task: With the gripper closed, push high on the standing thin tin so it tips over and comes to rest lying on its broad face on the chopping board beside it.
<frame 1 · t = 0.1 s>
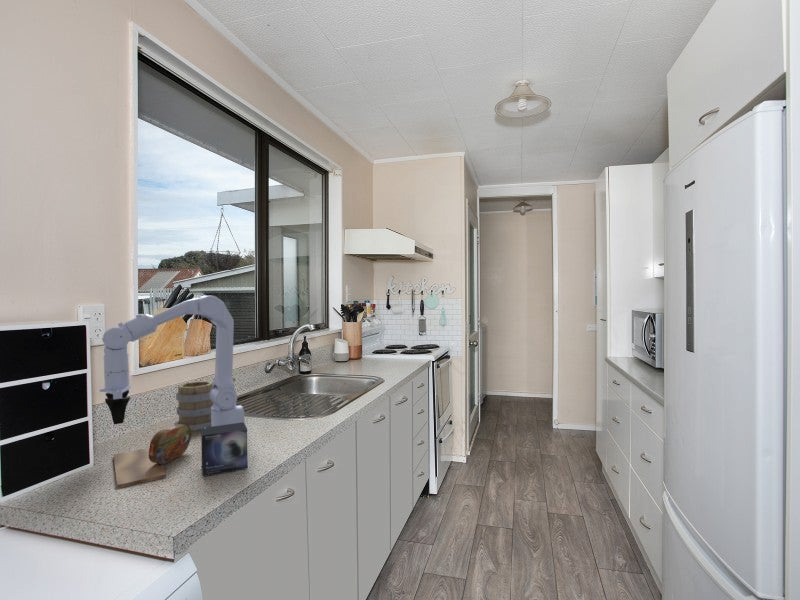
hand: (118, 420, 123), 10 cm above the worktop, tool pointing down, fingers open, 7 cm apart
chopping board: (138, 466, 115), on the worktop
small box: (224, 469, 113), on the worktop
tin: (167, 459, 119), point 1 cm above the worktop, touching chopping board
tankard: (208, 423, 154), on the worktop
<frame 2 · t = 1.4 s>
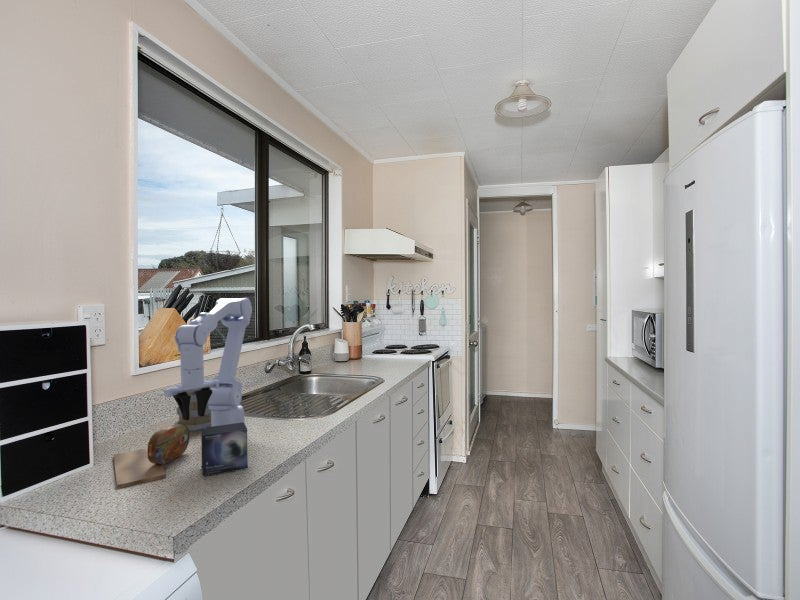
hand: (193, 417, 123), 10 cm above the worktop, tool pointing down, fingers open, 4 cm apart
nothing on the worktop moved.
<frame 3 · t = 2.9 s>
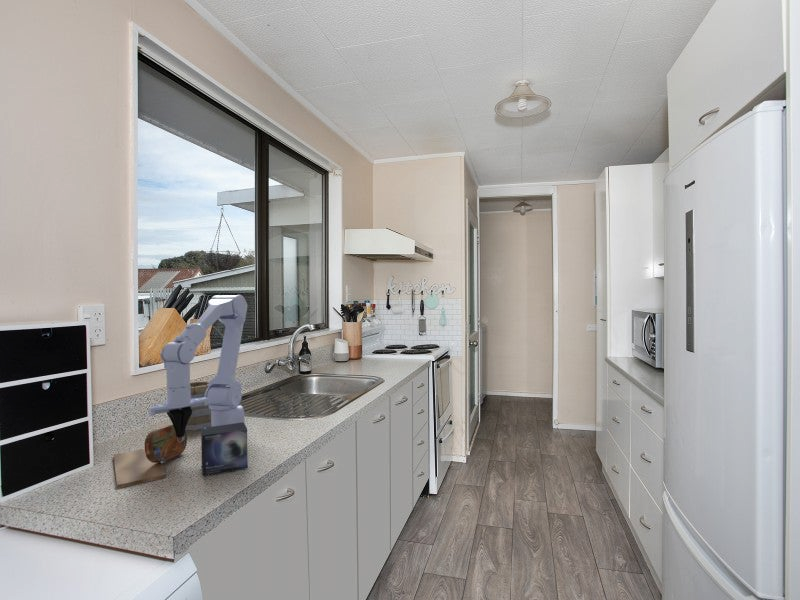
hand: (180, 436, 121), 6 cm above the worktop, tool pointing down, fingers closed
tin: (167, 459, 119), point 1 cm above the worktop, touching chopping board
everything else where it was.
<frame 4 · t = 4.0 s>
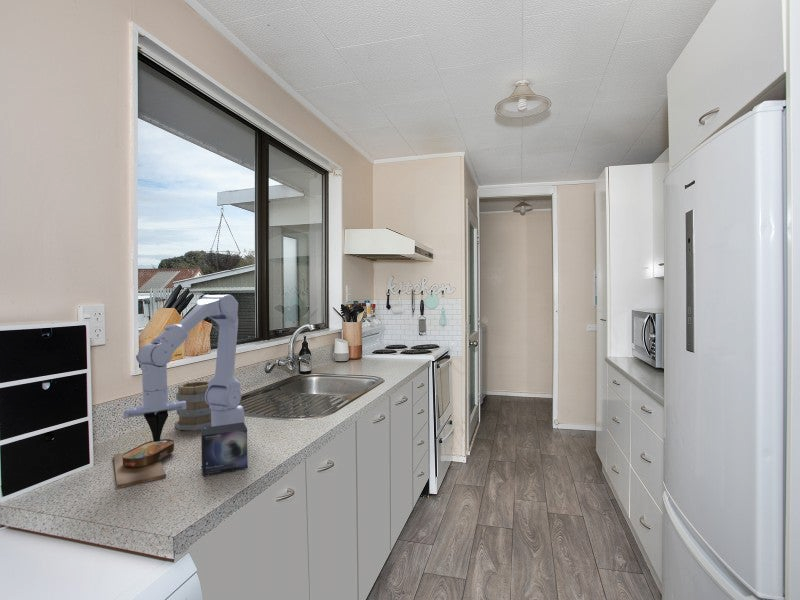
hand: (156, 440, 118), 6 cm above the worktop, tool pointing down, fingers closed
tin: (164, 454, 119), point 2 cm above the worktop, touching chopping board
everything else where it was.
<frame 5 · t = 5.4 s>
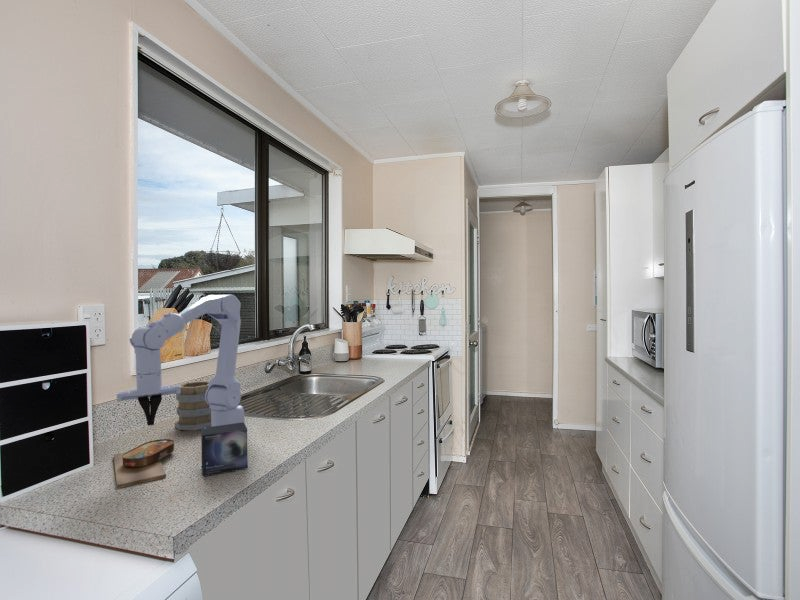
hand: (150, 424, 117), 10 cm above the worktop, tool pointing down, fingers closed
nothing on the worktop moved.
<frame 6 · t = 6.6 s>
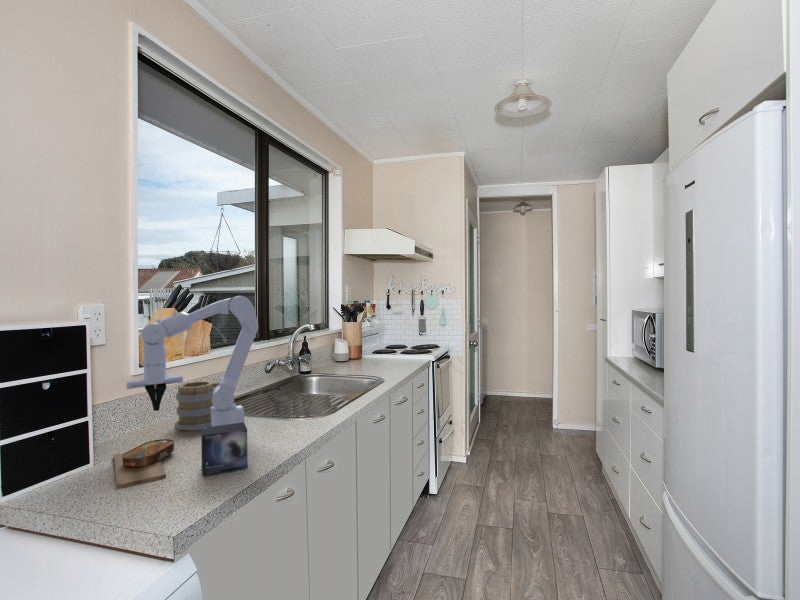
hand: (156, 410, 132), 10 cm above the worktop, tool pointing down, fingers closed
nothing on the worktop moved.
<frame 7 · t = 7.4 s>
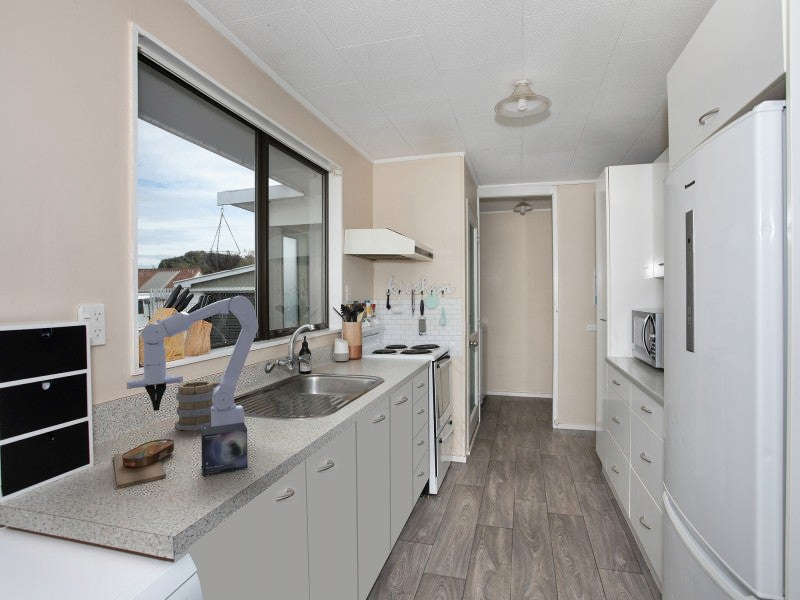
hand: (156, 410, 132), 10 cm above the worktop, tool pointing down, fingers closed
nothing on the worktop moved.
at the end: tin tilted 86°; tin touching chopping board; tin inside the target area (3.7 cm from its centre), point 1.8 cm above the worktop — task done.
